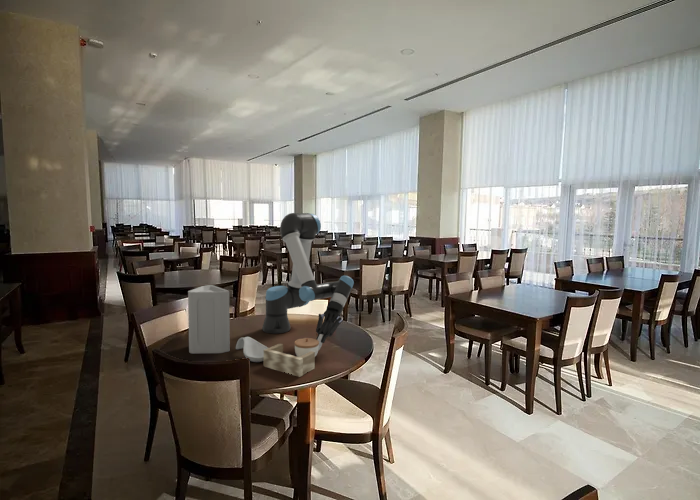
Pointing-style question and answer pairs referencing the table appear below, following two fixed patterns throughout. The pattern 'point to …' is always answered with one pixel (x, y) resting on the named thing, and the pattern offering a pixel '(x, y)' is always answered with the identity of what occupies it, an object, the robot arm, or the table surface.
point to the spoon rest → (251, 349)
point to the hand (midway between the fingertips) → (316, 348)
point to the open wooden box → (288, 361)
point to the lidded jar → (306, 346)
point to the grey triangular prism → (208, 320)
